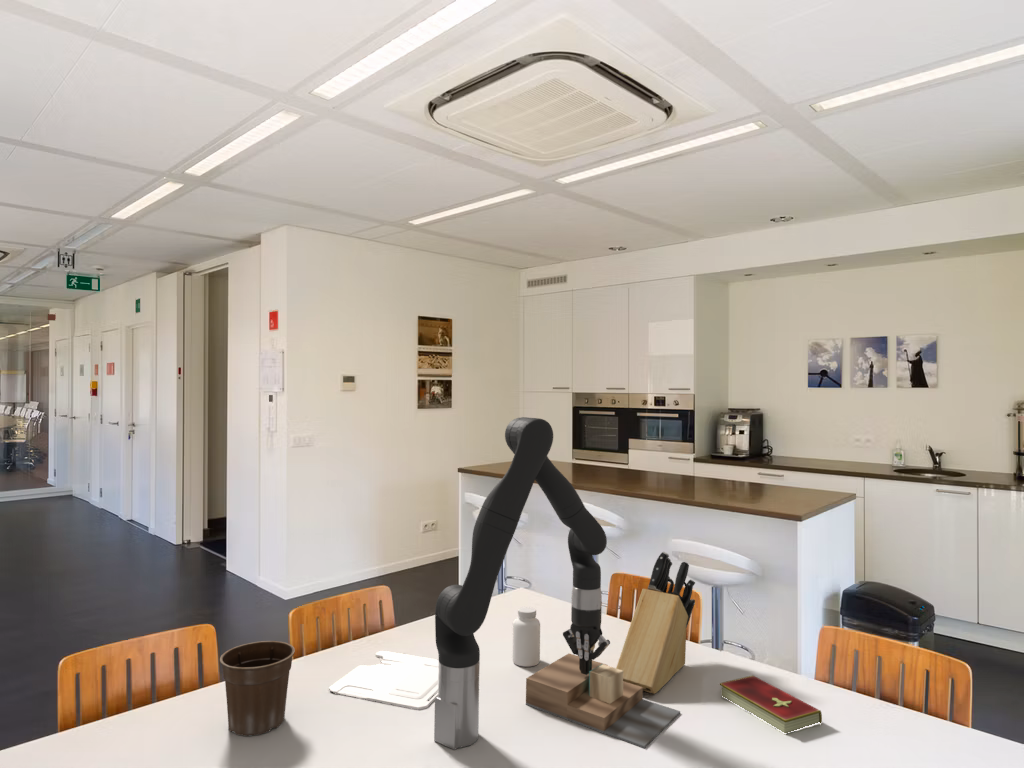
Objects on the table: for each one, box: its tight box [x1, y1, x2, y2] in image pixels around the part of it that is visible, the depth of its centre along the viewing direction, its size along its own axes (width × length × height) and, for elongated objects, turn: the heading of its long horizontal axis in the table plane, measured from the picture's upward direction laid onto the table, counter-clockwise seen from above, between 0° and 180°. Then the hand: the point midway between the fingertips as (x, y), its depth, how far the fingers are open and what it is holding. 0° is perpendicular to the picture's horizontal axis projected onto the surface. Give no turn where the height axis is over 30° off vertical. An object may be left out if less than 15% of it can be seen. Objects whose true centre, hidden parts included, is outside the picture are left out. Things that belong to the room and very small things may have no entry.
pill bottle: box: [511, 606, 541, 668], centre depth 188 cm, size 8×8×15 cm
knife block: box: [615, 551, 696, 694], centre depth 183 cm, size 11×35×31 cm, turn 146°
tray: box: [328, 650, 439, 711], centre depth 176 cm, size 28×28×2 cm
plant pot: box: [219, 640, 296, 737], centre depth 151 cm, size 16×16×16 cm
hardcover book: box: [718, 675, 823, 733], centre depth 161 cm, size 12×21×4 cm, turn 26°
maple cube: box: [589, 663, 623, 704], centre depth 160 cm, size 6×6×6 cm
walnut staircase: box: [525, 653, 681, 749], centre depth 160 cm, size 20×32×6 cm, turn 53°
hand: (585, 673), depth 163 cm, fingers closed
